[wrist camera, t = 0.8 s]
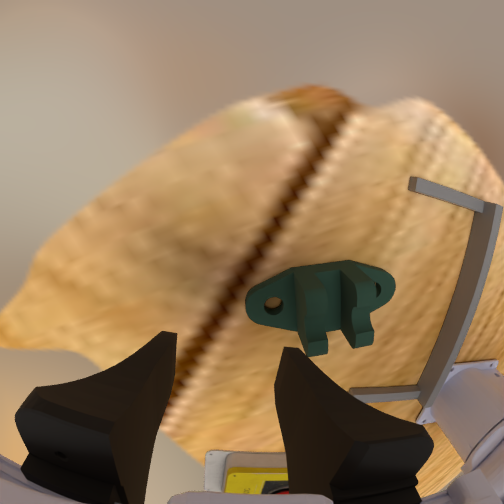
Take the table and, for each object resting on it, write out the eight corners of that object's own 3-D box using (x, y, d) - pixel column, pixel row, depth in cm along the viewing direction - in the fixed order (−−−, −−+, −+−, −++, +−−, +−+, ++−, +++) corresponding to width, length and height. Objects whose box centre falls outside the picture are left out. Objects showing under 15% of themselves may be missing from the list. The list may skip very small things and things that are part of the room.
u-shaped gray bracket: (484, 202, 20) (503, 206, 18) (420, 392, 25) (431, 406, 23) (410, 176, 20) (429, 178, 17) (347, 396, 24) (355, 414, 22)
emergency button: (331, 513, 25) (202, 516, 24) (324, 487, 29) (203, 487, 28) (359, 474, 23) (203, 478, 22) (348, 445, 27) (206, 444, 26)
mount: (389, 253, 21) (424, 274, 17) (387, 307, 22) (417, 337, 18) (241, 272, 21) (242, 302, 16) (248, 329, 22) (252, 369, 17)
